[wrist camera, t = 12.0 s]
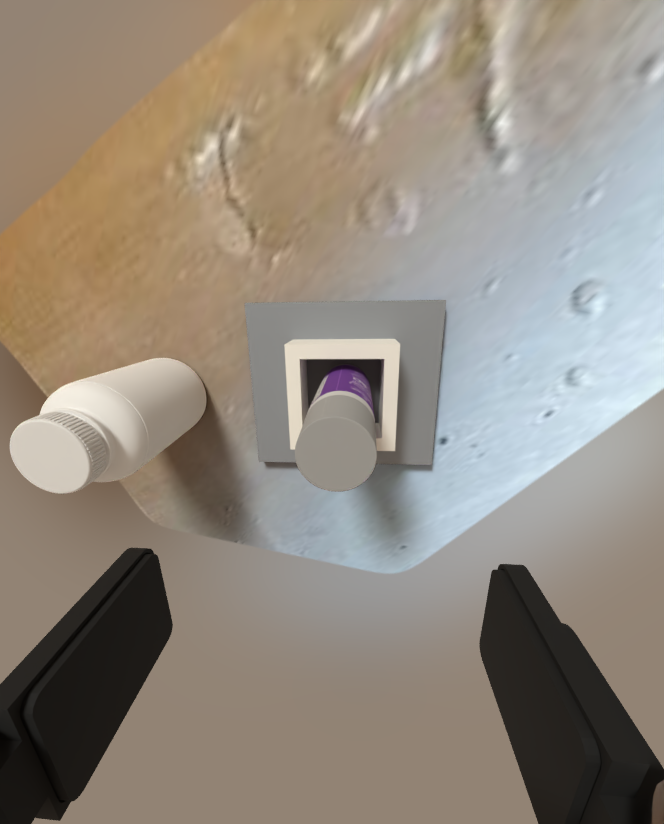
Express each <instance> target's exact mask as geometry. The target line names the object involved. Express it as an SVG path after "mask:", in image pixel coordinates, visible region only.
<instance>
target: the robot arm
mask: <svg viewBox="0 0 664 824" xmlns="http://www.w3.org/2000/svg"><path fill="white" fill-rule="evenodd" d="M172 625H173V624H172V619H171V614H170V609H169V605H168V600H167V596H166V591H165V587H164V582H163V578H162V573H161V569H160V563H159V559H158V556H157V555H156V554H154V553H153V551H152V550H151V549H147V548H129V549H127V550H126V551H125V552H124V553H123V554H122V555H121V556H120V557H119V558H118V559H117V560H116V561H115V562H114V563H113V564H112V565H111V567H110V568H109V569H108V570H107V571H106V572H105V573H104V574H103V575H102V576H101V577H100V578H99V579H98V580H97V581H96V583H95V584H94V585H93V586H92V587H91V588H90V589H89V590H88V591H87V592H86V593H85V594H84V595H83V596H82V598H81V599H80V600H79V601H78V602H77V603H76V604H75V605H74V606H73V607H72V608H71V609H70V611H68V612H67V614H66V615H65V616H64V617H63V618H62V619H61V620H60V621H59V622H58V623H57V624H56V626H54V627H53V629H52V630H51V631H50V632H49V633H48V634H47V635H46V636H45V637H44V638H43V639H42V640H41V641H40V643H39V644H38V645H37V646H36V647H35V648H34V649H33V650H32V651H31V652H30V653H29V654H28V655H27V656H26V657H25V658H24V660H23V661H22V662H21V663H20V664H19V665H18V666H17V667H16V668H15V669H14V670H13V671H12V673H10V675H9V676H8V677H7V678H6V679H5V680H4V681H3V682H2V683H1V684H0V824H31V823H32V821H33V820H34V818H35V817H36V818H41V819H50V820H59V821H60V820H61V818H62V816H63V814H64V813H65V811H66V809H67V808H68V806H69V804H70V802H71V801H74V800H76V799H77V798H78V796H80V794H81V793H82V791H83V790H84V788H85V787H86V785H87V783H88V781H89V780H90V778H91V776H92V774H93V773H94V771H95V769H96V767H97V765H98V764H99V762H100V760H101V758H102V757H103V755H104V753H105V751H106V750H107V748H108V746H109V744H110V742H111V741H112V739H113V737H114V735H115V734H116V732H117V730H118V728H119V726H120V724H121V723H122V721H123V719H124V718H125V716H126V714H127V712H128V711H129V709H130V707H131V705H132V703H133V702H134V700H135V698H136V696H137V694H138V693H139V691H140V689H141V687H142V686H143V684H144V682H145V680H146V678H147V676H148V675H149V673H150V671H151V670H152V668H153V666H154V664H155V663H156V660H157V659H158V657H159V655H160V654H161V652H162V650H163V648H164V647H165V645H166V643H167V641H168V639H169V637H170V635H171V632H172ZM480 652H481V657H482V661H483V663H484V666H485V669H486V672H487V675H488V678H489V681H490V684H491V687H492V689H493V692H494V696H495V698H496V701H497V704H498V707H499V709H500V713H501V716H502V718H503V722H504V724H505V727H506V730H507V733H508V736H509V739H510V742H511V745H512V748H513V751H514V754H515V757H516V760H517V762H518V765H519V768H520V771H521V774H522V777H523V780H524V783H525V786H526V788H527V792H528V795H529V797H530V800H531V803H532V806H533V809H534V812H535V814H536V818H537V821H538V824H664V769H663V767H662V765H661V764H660V762H659V761H658V759H657V758H656V756H655V755H654V753H653V752H652V750H651V749H650V747H649V746H648V744H647V742H646V741H645V739H644V738H643V736H642V735H641V734H640V732H639V730H638V729H637V727H636V726H635V724H634V723H633V721H632V719H631V718H630V716H629V715H628V713H627V712H626V710H625V709H624V707H623V706H622V704H621V703H620V701H619V699H618V698H617V696H616V695H615V693H614V692H613V690H612V689H611V687H610V686H609V684H608V683H607V681H606V679H605V678H604V676H603V675H602V673H601V672H600V670H599V669H598V667H597V666H596V664H595V663H594V661H593V660H592V658H591V656H590V655H589V653H588V652H587V650H586V649H585V647H584V646H583V644H582V643H581V641H580V640H579V638H578V637H577V635H576V634H575V632H574V631H573V630H572V629H571V628H570V627H569V626H568V625H566V624H563V623H561V622H560V620H559V619H558V617H557V615H556V614H555V612H554V611H553V609H552V607H551V606H550V604H549V603H548V601H547V600H546V598H545V596H544V595H543V593H542V592H541V590H540V588H539V587H538V585H537V584H536V582H535V581H534V579H533V577H532V576H531V574H530V573H529V571H528V570H527V568H526V567H525V566H524V565H511V564H500V565H499V567H498V570H493V571H492V573H491V579H490V584H489V590H488V596H487V602H486V608H485V614H484V620H483V626H482V631H481V637H480Z"/></svg>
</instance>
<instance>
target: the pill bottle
mask: <svg viewBox="0 0 664 824" xmlns="http://www.w3.org/2000/svg"><path fill="white" fill-rule="evenodd" d="M206 402H207V398H206V391H205V388H204V385H203V383H202V381H201V379H200V378H199V376H198V375H197V374H196V373H195V372H194V371H193V370H192V369H191V368H190V367H189V366H187V365H186V364H184V363H182V362H180V361H177V360H174V359H170V358H155V359H150V360H146V361H143V362H140V363H136V364H133V365H129V366H126V367H122V368H119V369H116V370H112V371H109V372H105V373H102V374H99V375H95V376H92V377H88V378H85V379H82V380H78V381H75V382H72V383H69V384H66V385H64V386H62V387H61V388H59V389H58V390H56V391H55V392H54V393H53V394H52V395H51V396H50V397H49V398H48V399H47V400H46V402H45V403H44V405H43V407H42V409H41V412H40V415H39V416H36V417H34V418H31V419H29V420H26V421H24V422H22V423H21V424H20V425H19V426H18V427H16V429H15V430H14V432H13V434H12V436H11V439H10V453H11V456H12V459H13V461H14V463H15V465H16V467H17V468H18V470H19V471H20V472H21V474H22V475H23V476H24V477H25V478H26V479H27V480H29V481H30V482H31V483H33V484H34V485H36V486H38V487H39V488H41V489H44V490H46V491H49V492H53V493H60V494H65V493H72V492H76V491H79V490H81V489H83V488H84V487H86V486H87V485H88V484H90V483H91V482H93V481H95V482H110V481H115V480H120V479H123V478H126V477H128V476H130V475H132V474H133V473H135V472H136V471H138V470H139V469H140V468H142V467H143V466H144V465H145V464H147V463H148V462H149V461H150V460H152V459H153V458H154V457H155V456H157V455H158V454H159V453H160V452H162V451H163V450H164V449H166V448H167V447H168V446H169V445H171V444H172V443H173V442H174V441H176V440H177V439H178V438H179V437H181V436H182V435H183V434H184V433H186V432H187V431H188V430H189V429H191V428H192V427H193V426H194V425H195V424H196V423H197V422H198V421H199V420H200V419H201V417H202V416H203V414H204V411H205V408H206Z"/></svg>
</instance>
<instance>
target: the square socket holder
mask: <svg viewBox="0 0 664 824" xmlns="http://www.w3.org/2000/svg"><path fill="white" fill-rule="evenodd" d="M445 306H446V300H417V301H349V302H281V303H245V313H246V324H247V335H248V346H249V357H250V368H251V379H252V391H253V402H254V413H255V424H256V435H257V446H258V457H259V462H296V460H295V446H296V442H297V439H298V437H299V434H300V431H301V429H302V426H303V423H304V421H305V418H306V415H307V412H308V410H309V408H310V406H311V404H312V401H313V399H314V397H315V395H316V393H317V391H318V389H319V386H320V384H321V382H322V380H323V378H324V376H325V375H326V373H327V372H328V371H329V370H330V369H332V368H333V367H335V366H337V365H341V364H351V365H354V366H356V367H358V368H360V369H361V370H362V371H363V372H364V373H365V374H366V376H367V377H368V380H369V383H370V389H371V396H372V403H373V410H374V417H375V430H376V446H377V461H376V464H413V465H432V455H433V444H434V432H435V421H436V409H437V398H438V386H439V375H440V363H441V352H442V340H443V329H444V317H445Z"/></svg>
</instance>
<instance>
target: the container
mask: <svg viewBox="0 0 664 824" xmlns="http://www.w3.org/2000/svg"><path fill="white" fill-rule="evenodd" d="M295 460H296V463H297V466H298V468H299V470H300V472H301V473H302V475H303V476H304V477H305V478H306V479H307V480H308V481H309V482H310V483H312V484H313V485H315V486H317V487H319V488H321V489H324V490H328V491H346V490H350V489H353V488H355V487H358V486H359V485H361V484H362V483H364V482H365V481H366V480H367V479H368V478H369V476H370V475H371V474H372V472H373V470H374V468H375V465H376V461H377V446H376V430H375V417H374V410H373V403H372V396H371V389H370V383H369V380H368V377H367V376H366V374H365V373H364V372H363V371H362V370H361V369H360V368H358V367H356V366H354V365H351V364H341V365H337V366H335V367H333V368H332V369H330V370H329V371H328V372H327V373H326V375H325V376H324V378H323V380H322V382H321V384H320V386H319V389H318V391H317V393H316V395H315V397H314V399H313V401H312V404H311V406H310V408H309V410H308V412H307V415H306V418H305V421H304V423H303V426H302V429H301V431H300V434H299V437H298V439H297V442H296V446H295Z"/></svg>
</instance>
